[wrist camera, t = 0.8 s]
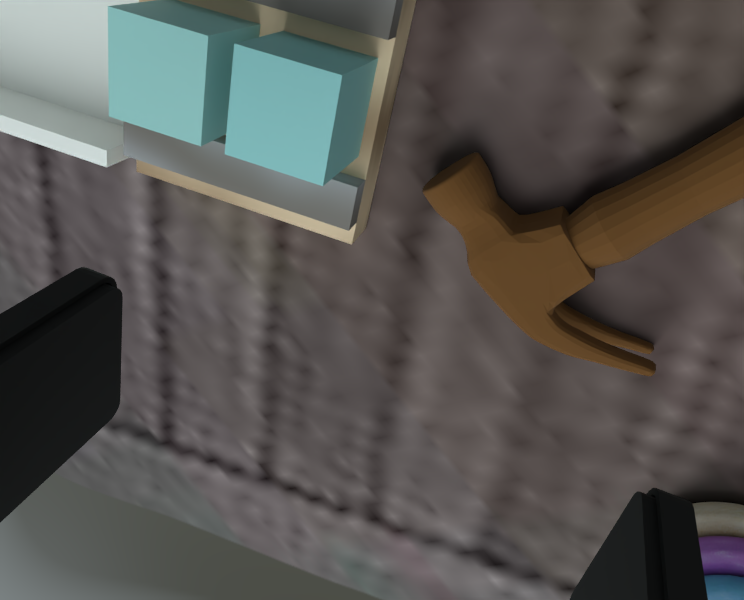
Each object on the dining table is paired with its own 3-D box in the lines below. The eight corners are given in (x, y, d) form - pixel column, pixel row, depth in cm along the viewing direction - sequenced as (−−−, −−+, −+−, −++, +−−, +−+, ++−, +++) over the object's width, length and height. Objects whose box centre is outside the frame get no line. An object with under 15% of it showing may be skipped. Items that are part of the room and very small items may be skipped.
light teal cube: (171, -2, 26) (107, 6, 23) (260, 24, 26) (208, 35, 22) (167, 96, 29) (108, 116, 25) (250, 122, 28) (200, 146, 25)
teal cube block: (283, 30, 26) (234, 43, 22) (378, 58, 25) (342, 75, 22) (271, 129, 28) (224, 154, 24) (358, 156, 27) (323, 186, 24)
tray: (-82, -172, 29) (-161, -185, 26) (159, -110, 27) (103, -116, 24) (-48, 81, 34) (-109, 93, 31) (152, 147, 32) (106, 167, 29)
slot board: (170, -121, 26) (124, -128, 24) (428, -56, 25) (407, -56, 22) (160, 159, 33) (123, 177, 30) (365, 228, 31) (344, 253, 28)
